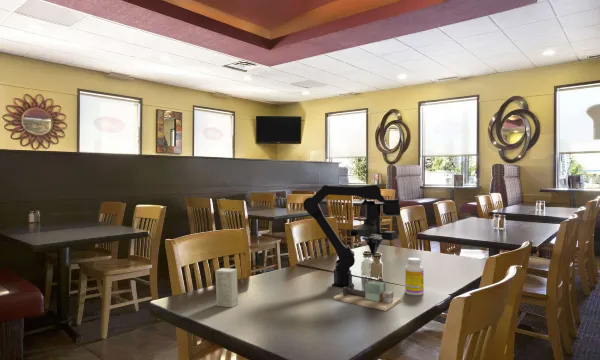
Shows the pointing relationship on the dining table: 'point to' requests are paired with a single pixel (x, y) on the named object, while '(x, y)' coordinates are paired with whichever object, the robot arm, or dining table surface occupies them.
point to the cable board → (359, 299)
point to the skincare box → (226, 287)
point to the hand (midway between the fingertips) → (373, 255)
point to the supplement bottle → (414, 277)
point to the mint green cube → (374, 290)
